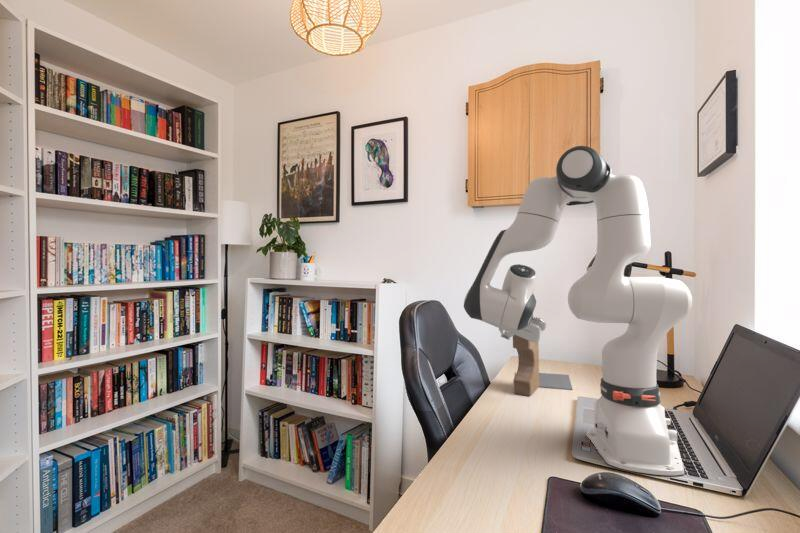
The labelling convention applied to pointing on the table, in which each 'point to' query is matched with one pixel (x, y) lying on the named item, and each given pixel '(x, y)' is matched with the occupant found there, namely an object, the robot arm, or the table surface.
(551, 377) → the felt pad
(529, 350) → the decorative block
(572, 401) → the table surface
